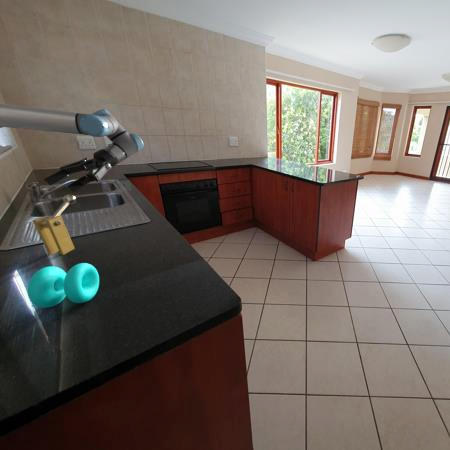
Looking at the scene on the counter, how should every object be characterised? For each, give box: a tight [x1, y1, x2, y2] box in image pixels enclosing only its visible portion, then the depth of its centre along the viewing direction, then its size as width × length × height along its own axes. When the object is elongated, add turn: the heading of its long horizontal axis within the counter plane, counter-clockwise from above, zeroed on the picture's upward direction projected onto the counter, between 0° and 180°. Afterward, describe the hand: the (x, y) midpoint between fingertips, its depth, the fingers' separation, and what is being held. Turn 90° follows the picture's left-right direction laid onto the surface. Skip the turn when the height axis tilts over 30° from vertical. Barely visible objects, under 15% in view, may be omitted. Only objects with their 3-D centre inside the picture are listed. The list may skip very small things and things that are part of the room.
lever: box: [41, 194, 77, 229], centre depth 81 cm, size 14×3×3 cm, turn 1°
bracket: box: [32, 215, 75, 256], centre depth 79 cm, size 10×8×14 cm
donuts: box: [27, 262, 100, 309], centre depth 59 cm, size 10×10×10 cm
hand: (58, 185), depth 87 cm, fingers open, 13 cm apart
